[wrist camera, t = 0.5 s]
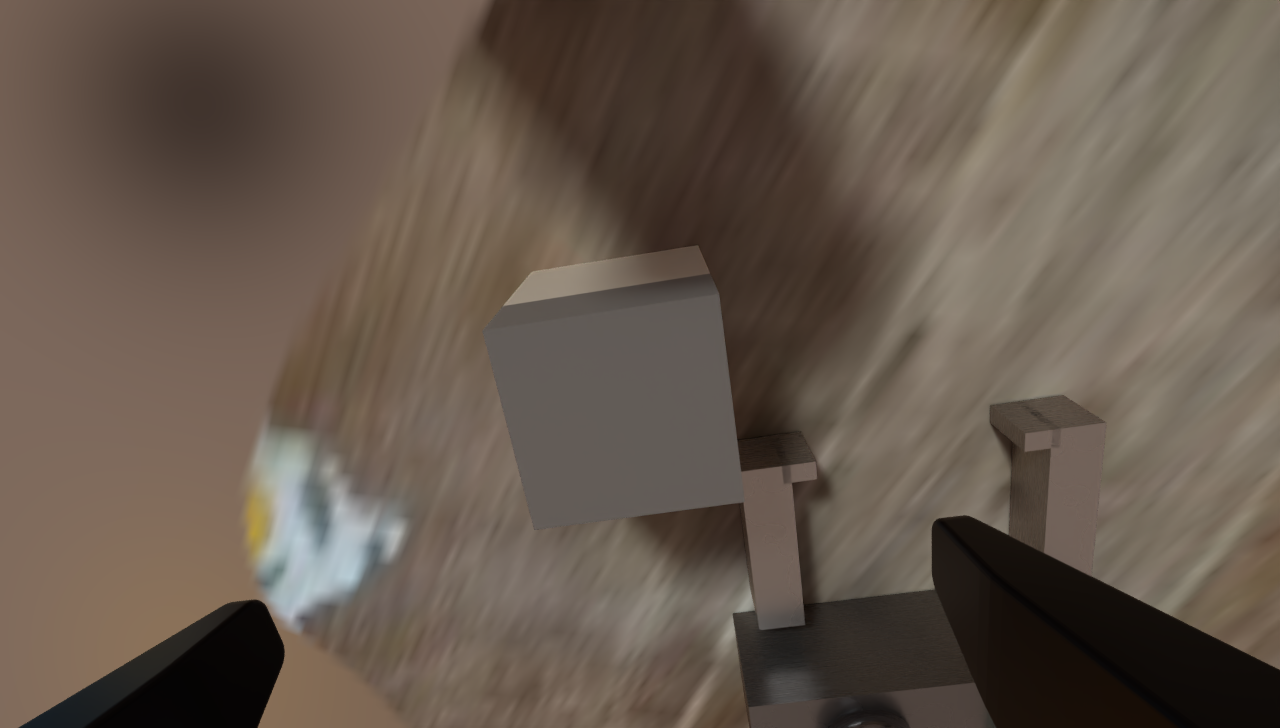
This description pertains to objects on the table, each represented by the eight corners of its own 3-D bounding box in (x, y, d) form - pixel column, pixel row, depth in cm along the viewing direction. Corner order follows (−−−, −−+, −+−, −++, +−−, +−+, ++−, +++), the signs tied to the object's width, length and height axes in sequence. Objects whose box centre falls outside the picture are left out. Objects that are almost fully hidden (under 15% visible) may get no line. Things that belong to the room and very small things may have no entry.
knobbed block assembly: (708, 444, 21) (724, 530, 16) (1088, 391, 20) (1216, 468, 15) (744, 695, 24) (765, 823, 20) (1065, 660, 24) (1162, 785, 19)
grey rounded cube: (697, 244, 19) (719, 294, 13) (717, 399, 20) (744, 502, 15) (532, 271, 19) (482, 330, 13) (565, 421, 21) (534, 529, 15)
